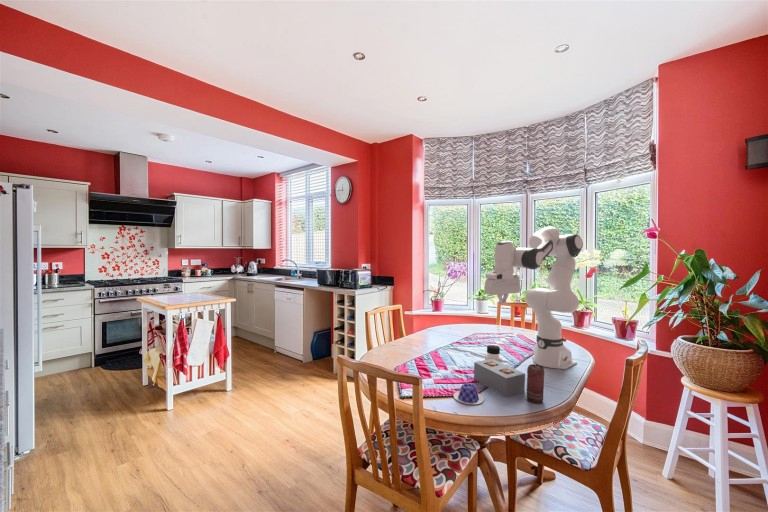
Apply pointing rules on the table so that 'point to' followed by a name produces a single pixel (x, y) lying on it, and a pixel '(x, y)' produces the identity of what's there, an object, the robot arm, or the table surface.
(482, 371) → the block
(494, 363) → the peg
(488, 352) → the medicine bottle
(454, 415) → the table surface
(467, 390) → the pudding
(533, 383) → the can
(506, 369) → the peg
